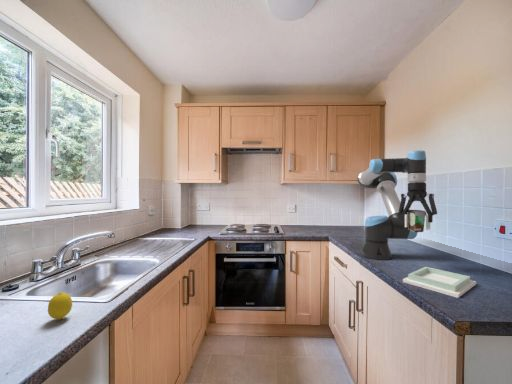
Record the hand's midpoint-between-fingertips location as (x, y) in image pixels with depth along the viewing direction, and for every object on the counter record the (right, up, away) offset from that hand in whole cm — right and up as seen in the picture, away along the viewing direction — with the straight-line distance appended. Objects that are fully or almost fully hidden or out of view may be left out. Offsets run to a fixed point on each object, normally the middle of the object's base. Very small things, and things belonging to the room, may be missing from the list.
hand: (417, 228), depth 116 cm
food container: (0, -2, 0) cm, 2 cm away
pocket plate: (-5, -19, -20) cm, 29 cm away
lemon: (-137, -20, -46) cm, 146 cm away
